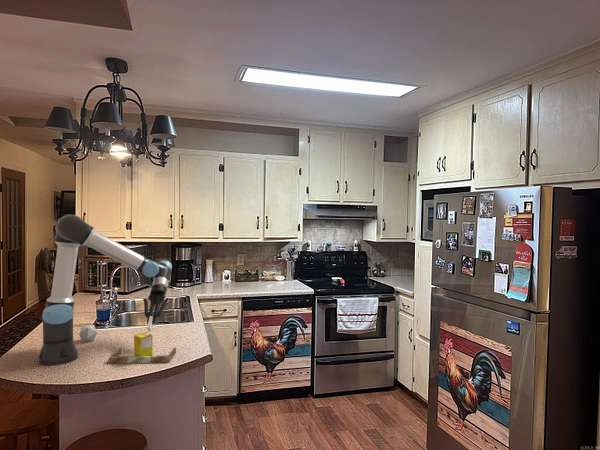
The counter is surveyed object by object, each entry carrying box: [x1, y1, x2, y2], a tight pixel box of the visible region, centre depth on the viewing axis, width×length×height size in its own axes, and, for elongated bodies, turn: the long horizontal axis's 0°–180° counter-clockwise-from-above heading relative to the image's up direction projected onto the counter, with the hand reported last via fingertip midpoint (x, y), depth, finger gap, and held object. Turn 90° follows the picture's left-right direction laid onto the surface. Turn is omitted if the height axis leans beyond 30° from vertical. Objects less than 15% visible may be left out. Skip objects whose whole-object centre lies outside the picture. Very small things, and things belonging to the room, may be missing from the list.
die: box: [78, 324, 98, 343], centre depth 209 cm, size 8×9×10 cm
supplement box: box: [133, 331, 154, 357], centre depth 184 cm, size 6×6×11 cm
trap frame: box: [107, 347, 177, 364], centre depth 185 cm, size 26×12×2 cm, turn 94°
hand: (149, 329), depth 194 cm, fingers closed
